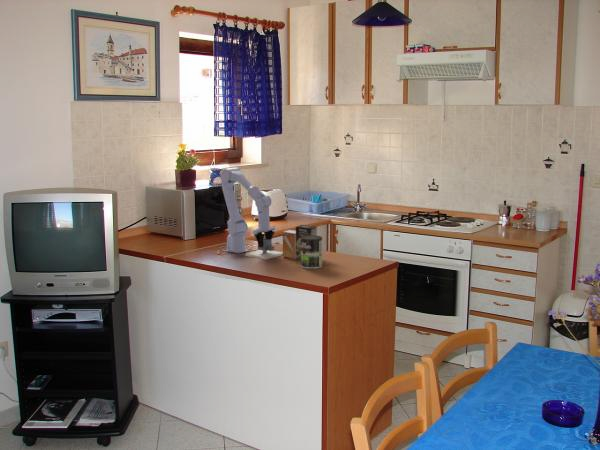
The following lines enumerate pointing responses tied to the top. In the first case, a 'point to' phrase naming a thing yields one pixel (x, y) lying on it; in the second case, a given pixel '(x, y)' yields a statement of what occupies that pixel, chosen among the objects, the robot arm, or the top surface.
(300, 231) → the coffee box
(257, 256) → the pin plate
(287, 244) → the small box
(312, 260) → the coffee can
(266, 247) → the jaw block
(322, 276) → the top surface
